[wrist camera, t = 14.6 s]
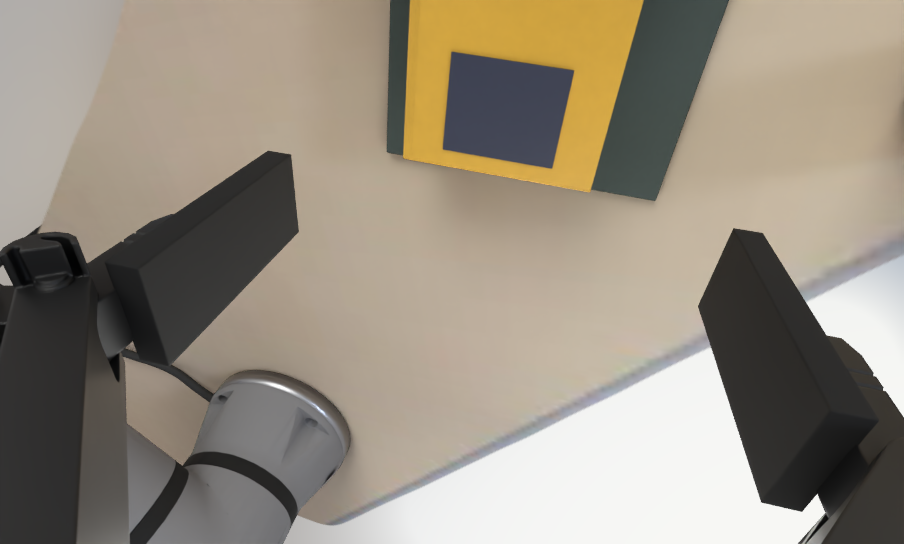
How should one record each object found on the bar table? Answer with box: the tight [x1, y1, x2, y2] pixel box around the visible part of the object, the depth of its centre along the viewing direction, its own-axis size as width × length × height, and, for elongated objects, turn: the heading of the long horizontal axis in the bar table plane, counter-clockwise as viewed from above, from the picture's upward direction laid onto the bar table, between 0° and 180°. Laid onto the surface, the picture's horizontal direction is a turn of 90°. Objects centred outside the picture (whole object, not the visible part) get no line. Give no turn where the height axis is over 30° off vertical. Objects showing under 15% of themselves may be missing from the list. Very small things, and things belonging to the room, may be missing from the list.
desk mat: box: [387, 0, 729, 201], centre depth 28 cm, size 18×20×1 cm
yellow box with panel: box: [403, 0, 644, 192], centre depth 25 cm, size 16×10×6 cm, turn 175°
